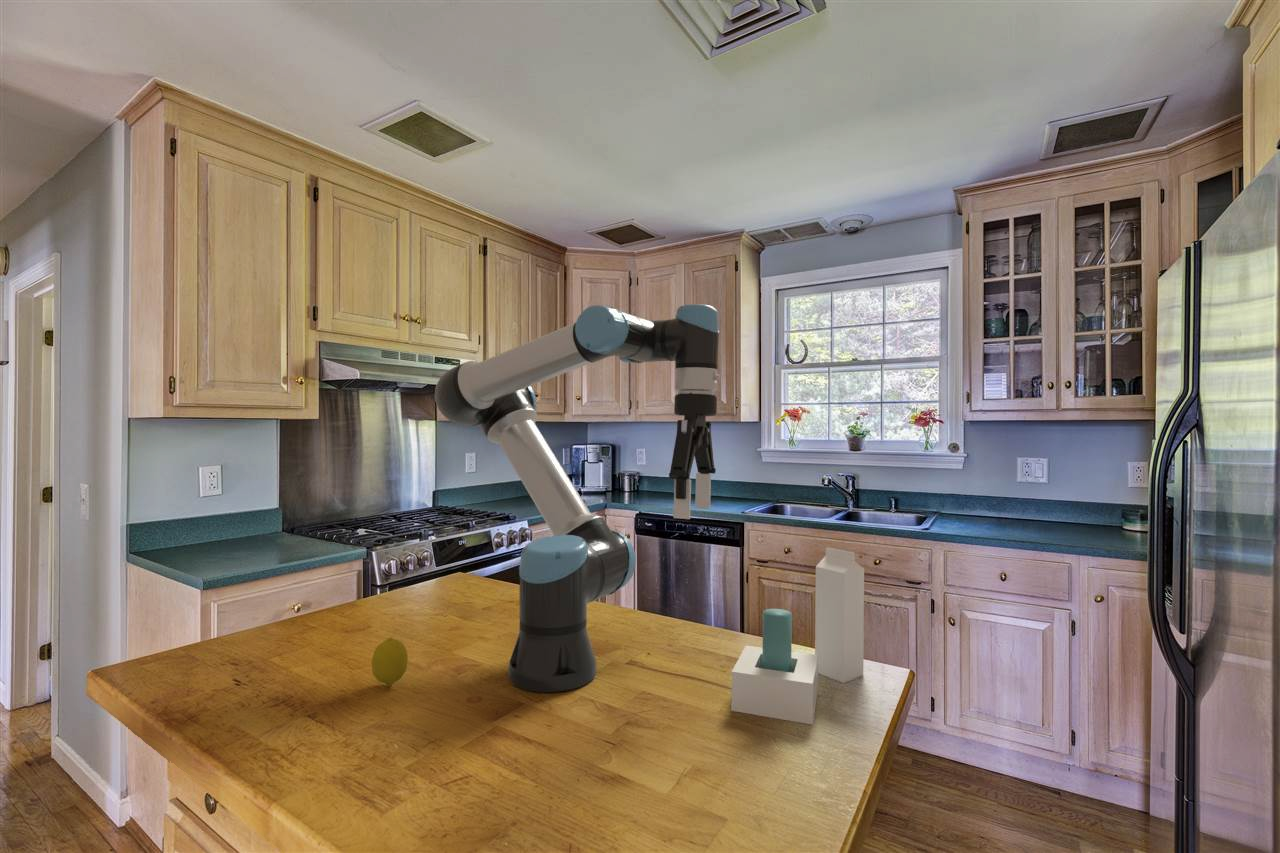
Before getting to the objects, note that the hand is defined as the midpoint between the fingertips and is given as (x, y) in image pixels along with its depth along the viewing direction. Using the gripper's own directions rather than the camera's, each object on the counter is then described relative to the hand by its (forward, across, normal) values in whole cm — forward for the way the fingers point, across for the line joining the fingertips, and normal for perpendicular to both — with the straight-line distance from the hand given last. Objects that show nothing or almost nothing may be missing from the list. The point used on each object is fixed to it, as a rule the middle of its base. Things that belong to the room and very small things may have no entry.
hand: (692, 513), depth 107 cm
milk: (+28, +9, -25) cm, 39 cm away
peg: (+28, -6, -16) cm, 33 cm away
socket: (+28, -6, -16) cm, 33 cm away
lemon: (+29, -24, +45) cm, 59 cm away
